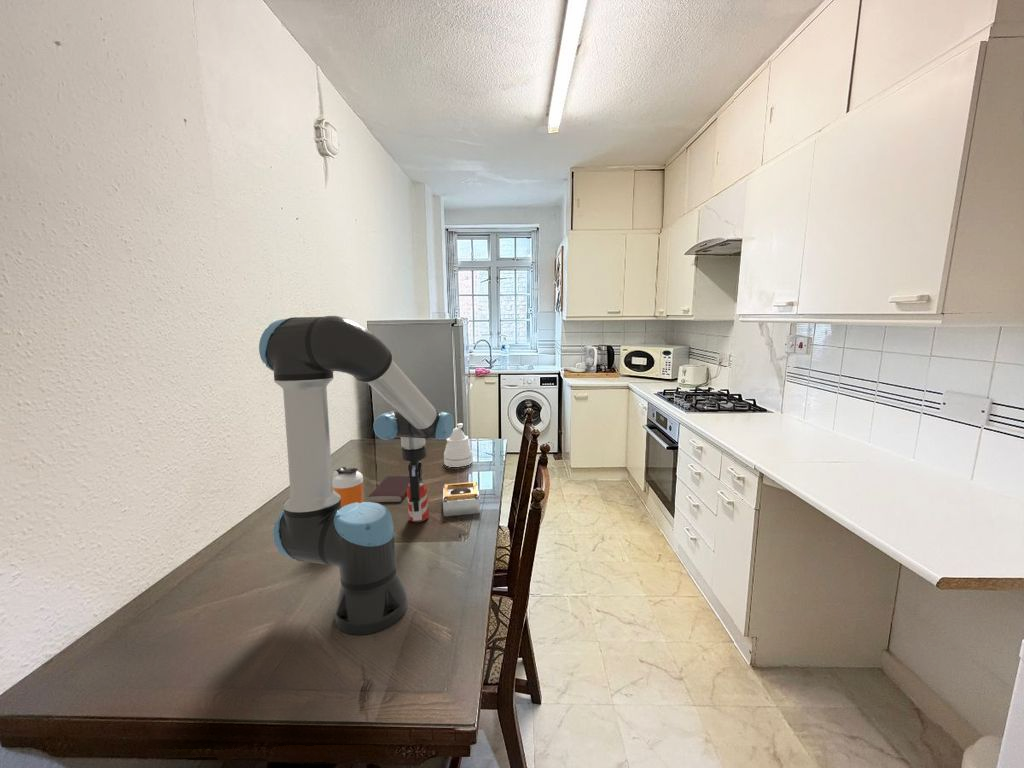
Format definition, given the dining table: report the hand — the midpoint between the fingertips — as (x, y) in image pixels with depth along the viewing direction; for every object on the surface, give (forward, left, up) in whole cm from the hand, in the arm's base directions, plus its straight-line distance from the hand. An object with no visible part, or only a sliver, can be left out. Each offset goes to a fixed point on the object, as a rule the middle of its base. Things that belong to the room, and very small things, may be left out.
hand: (418, 513), depth 137 cm
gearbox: (+7, -14, -2) cm, 16 cm away
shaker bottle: (-4, +20, -2) cm, 20 cm away
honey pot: (+54, -14, -2) cm, 56 cm away
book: (+26, +11, -3) cm, 28 cm away
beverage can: (0, 0, -2) cm, 2 cm away
